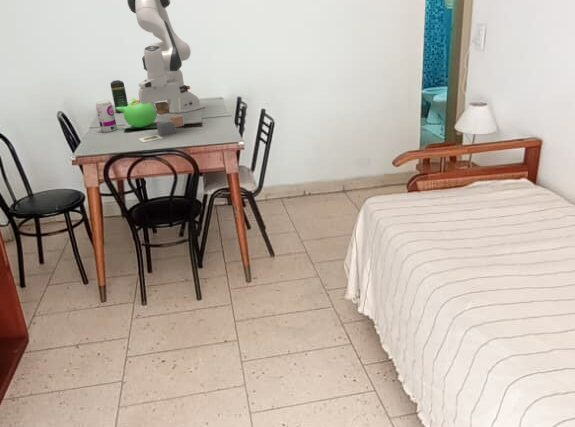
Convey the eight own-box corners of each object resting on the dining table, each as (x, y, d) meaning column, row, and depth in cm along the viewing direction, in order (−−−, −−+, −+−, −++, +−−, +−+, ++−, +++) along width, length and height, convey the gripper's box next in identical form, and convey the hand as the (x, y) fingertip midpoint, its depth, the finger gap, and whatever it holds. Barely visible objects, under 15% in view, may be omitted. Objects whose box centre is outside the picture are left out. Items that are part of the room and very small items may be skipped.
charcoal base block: (171, 131, 266) (169, 121, 264) (176, 133, 260) (174, 123, 258) (158, 133, 263) (156, 124, 261) (162, 136, 257) (160, 126, 255)
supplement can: (120, 128, 279) (114, 100, 273) (111, 132, 272) (104, 103, 266) (107, 128, 282) (101, 100, 275) (98, 132, 275) (91, 104, 268)
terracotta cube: (180, 124, 278) (179, 114, 276) (184, 125, 274) (182, 116, 272) (171, 125, 276) (170, 116, 274) (175, 127, 272) (173, 118, 270)
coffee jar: (129, 111, 316) (123, 80, 309) (116, 113, 314) (109, 82, 307) (128, 109, 325) (122, 78, 317) (115, 110, 323) (109, 80, 315)
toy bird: (145, 131, 269) (140, 102, 263) (118, 130, 275) (112, 102, 269) (164, 122, 284) (160, 95, 278) (138, 121, 290) (133, 95, 284)
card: (157, 135, 259) (157, 134, 259) (162, 138, 253) (162, 137, 253) (137, 139, 255) (137, 138, 255) (142, 142, 249) (142, 141, 248)
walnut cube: (166, 111, 261) (164, 101, 259) (169, 113, 257) (168, 102, 255) (156, 113, 258) (154, 103, 256) (160, 114, 254) (158, 104, 252)
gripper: (175, 77, 258) (180, 105, 264) (135, 83, 249) (140, 112, 255) (180, 78, 253) (184, 107, 259) (139, 85, 244) (144, 114, 250)
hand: (162, 109), depth 257 cm, fingers closed on walnut cube, 5 cm apart
